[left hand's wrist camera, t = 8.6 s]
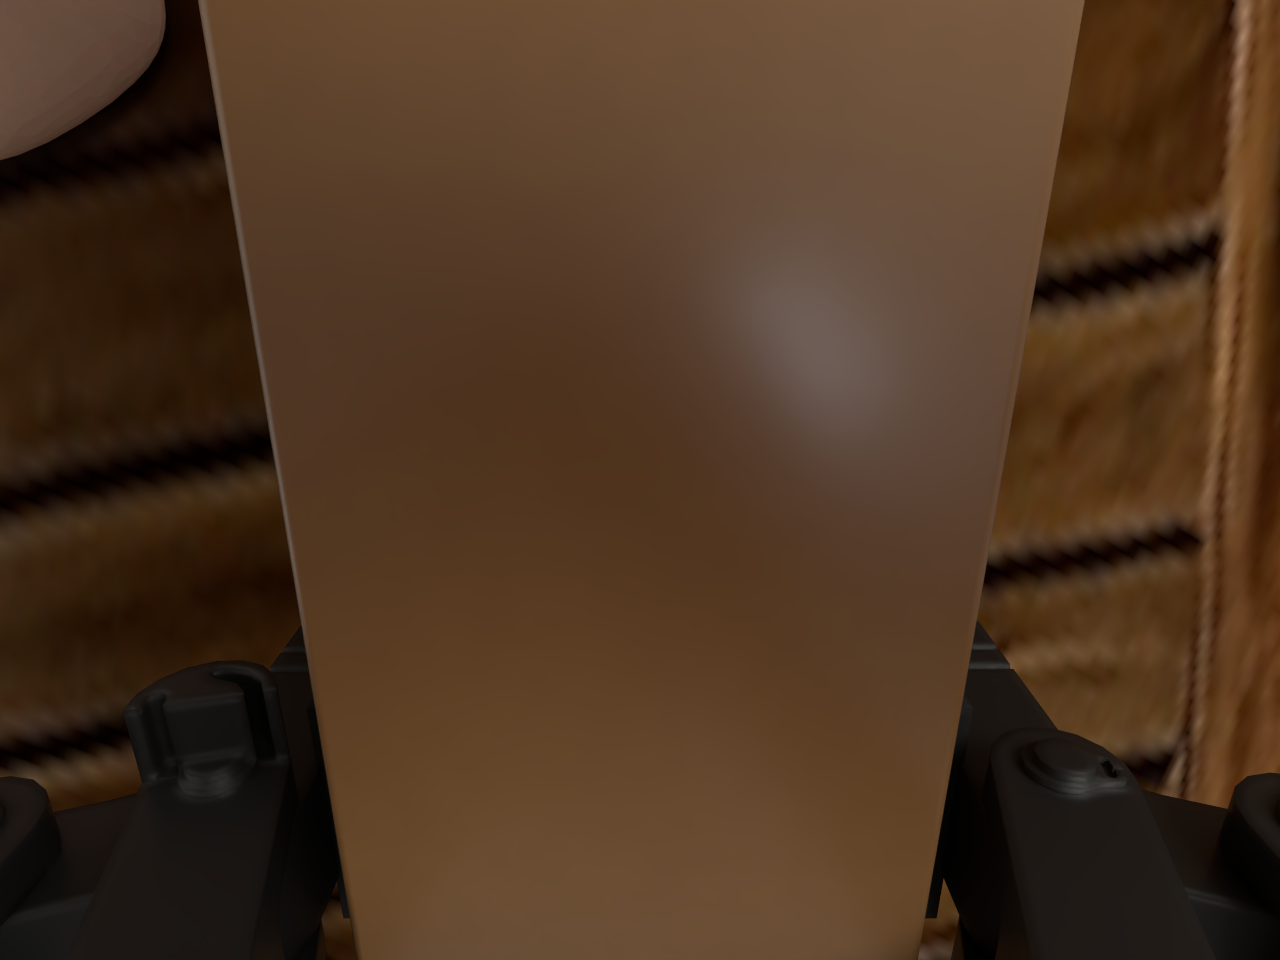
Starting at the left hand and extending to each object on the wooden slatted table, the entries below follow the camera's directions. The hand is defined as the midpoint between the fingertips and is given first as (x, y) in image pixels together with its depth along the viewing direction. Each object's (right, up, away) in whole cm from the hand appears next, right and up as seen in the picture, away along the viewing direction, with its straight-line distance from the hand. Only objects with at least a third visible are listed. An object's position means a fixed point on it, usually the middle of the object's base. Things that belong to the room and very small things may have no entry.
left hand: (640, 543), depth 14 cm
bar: (0, +9, -3) cm, 10 cm away
